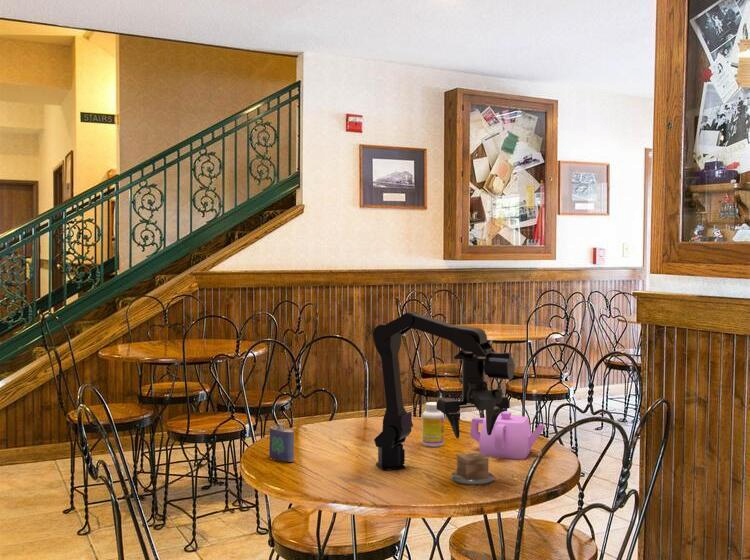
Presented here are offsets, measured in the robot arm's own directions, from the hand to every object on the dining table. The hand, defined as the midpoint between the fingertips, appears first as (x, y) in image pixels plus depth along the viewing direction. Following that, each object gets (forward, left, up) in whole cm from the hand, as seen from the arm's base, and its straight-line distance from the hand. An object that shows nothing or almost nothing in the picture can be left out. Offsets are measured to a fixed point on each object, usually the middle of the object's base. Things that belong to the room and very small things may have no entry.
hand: (473, 436), depth 190 cm
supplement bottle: (+5, +36, -12) cm, 38 cm away
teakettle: (+22, +20, -12) cm, 32 cm away
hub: (0, 0, -11) cm, 11 cm away
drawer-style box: (0, 0, -10) cm, 10 cm away
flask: (-43, +35, -12) cm, 57 cm away
